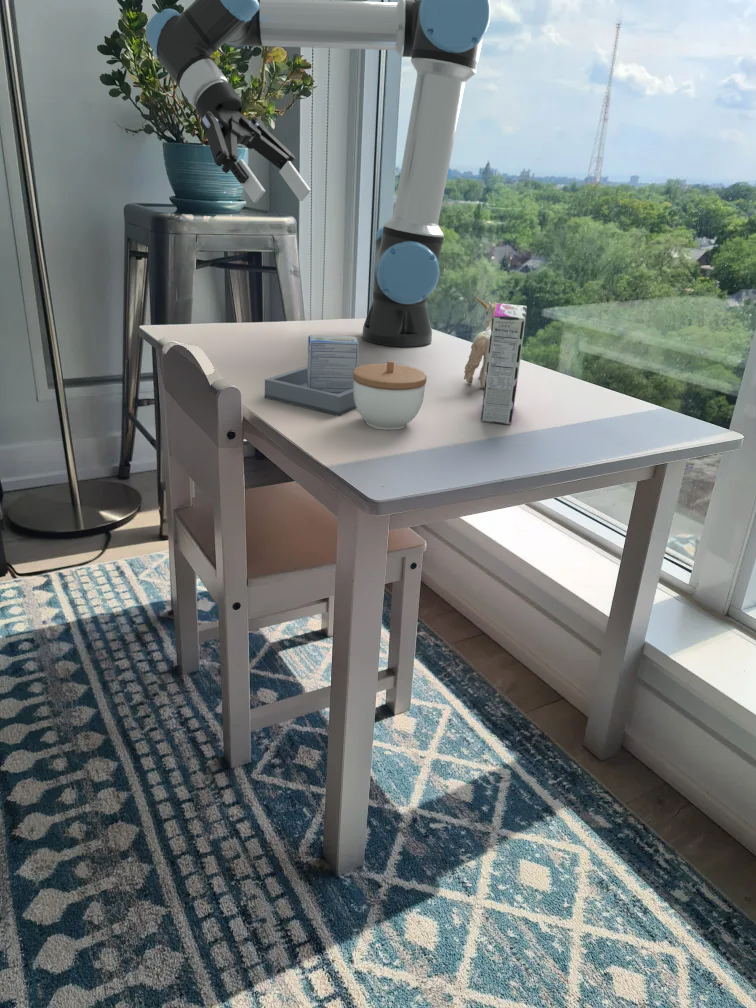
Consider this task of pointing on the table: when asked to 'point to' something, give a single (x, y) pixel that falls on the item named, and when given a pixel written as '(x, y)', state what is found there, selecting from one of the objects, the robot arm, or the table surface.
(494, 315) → the candy bar box
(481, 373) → the unicorn figurine
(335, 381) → the medicine box
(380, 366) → the lidded jar
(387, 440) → the table surface
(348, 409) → the slate tray
